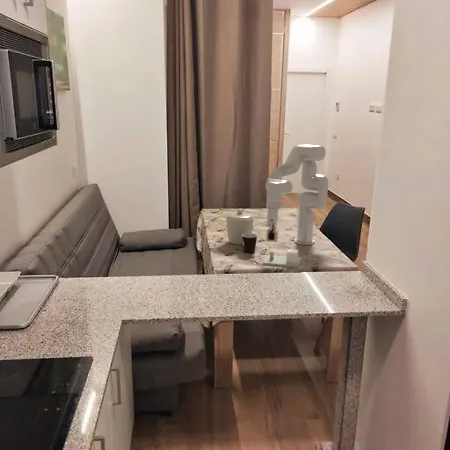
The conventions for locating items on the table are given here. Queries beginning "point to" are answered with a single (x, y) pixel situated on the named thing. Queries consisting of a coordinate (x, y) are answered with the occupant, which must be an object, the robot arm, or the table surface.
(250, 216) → the canister
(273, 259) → the junction board
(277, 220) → the robot arm
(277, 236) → the tan wooden cube
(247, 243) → the coffee mug
